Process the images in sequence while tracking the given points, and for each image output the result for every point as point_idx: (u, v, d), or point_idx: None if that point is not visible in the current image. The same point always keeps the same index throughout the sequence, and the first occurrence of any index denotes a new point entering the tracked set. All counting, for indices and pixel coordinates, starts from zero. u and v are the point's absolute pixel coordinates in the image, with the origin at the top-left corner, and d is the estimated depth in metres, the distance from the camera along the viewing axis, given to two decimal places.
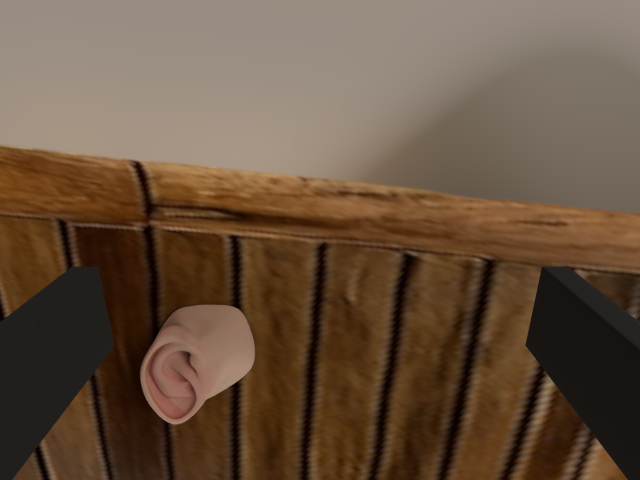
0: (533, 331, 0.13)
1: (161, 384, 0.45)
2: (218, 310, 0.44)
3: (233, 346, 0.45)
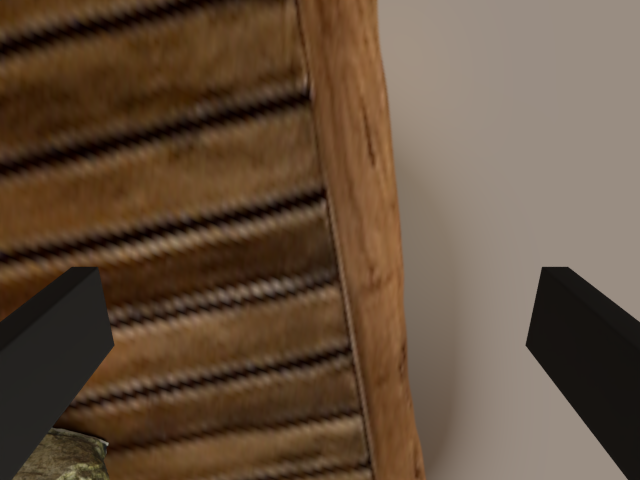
0: (533, 331, 0.13)
1: None
2: None
3: None
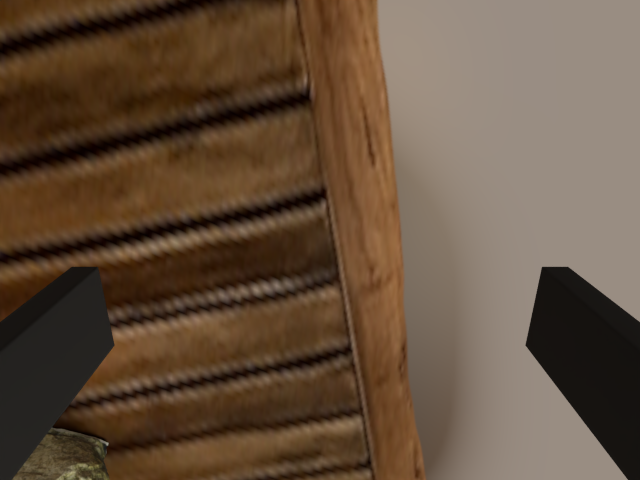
0: (533, 331, 0.13)
1: None
2: None
3: None
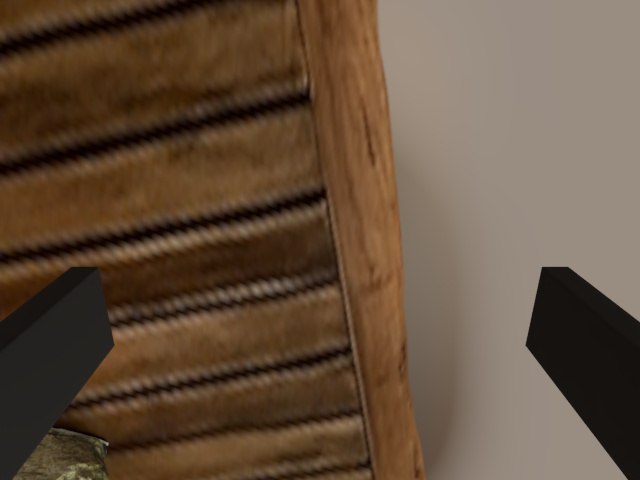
0: (533, 331, 0.13)
1: None
2: None
3: None
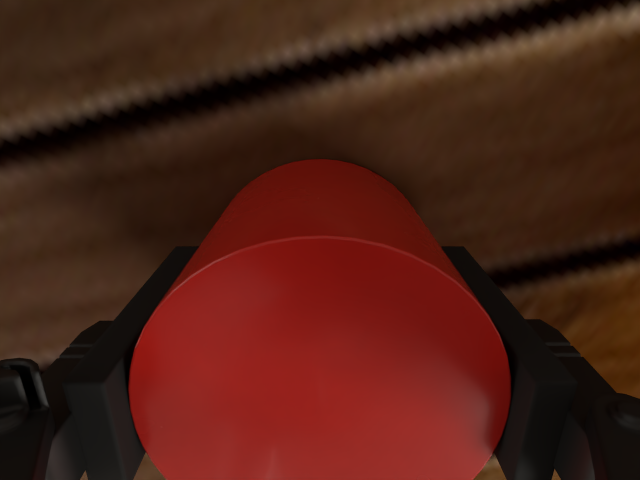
0: None
1: None
2: None
3: None
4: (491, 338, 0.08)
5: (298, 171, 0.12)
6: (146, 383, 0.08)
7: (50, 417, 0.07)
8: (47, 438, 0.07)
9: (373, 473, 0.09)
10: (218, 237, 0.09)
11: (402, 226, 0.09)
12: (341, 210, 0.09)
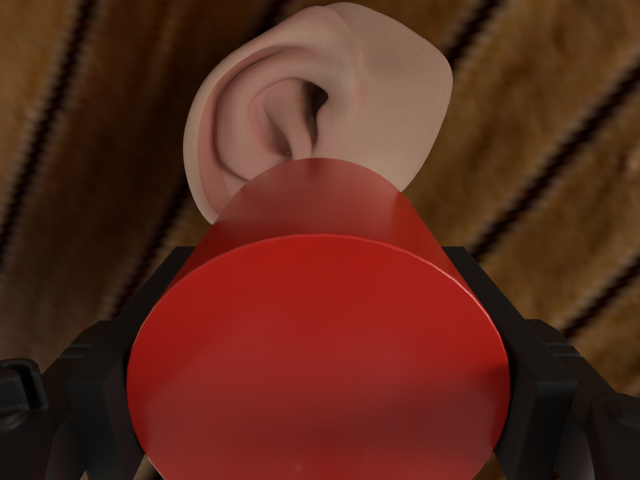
0: None
1: (229, 132, 0.20)
2: (422, 47, 0.21)
3: (405, 135, 0.22)
4: (490, 336, 0.08)
5: (297, 170, 0.12)
6: (144, 382, 0.08)
7: (50, 417, 0.07)
8: (47, 438, 0.07)
9: (372, 473, 0.09)
10: (216, 235, 0.09)
11: (401, 224, 0.09)
12: (339, 208, 0.09)
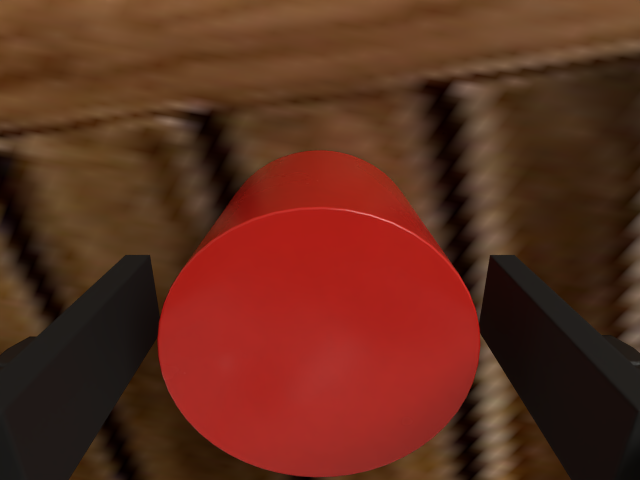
0: (484, 316, 0.13)
1: None
2: None
3: None
4: (461, 295, 0.10)
5: (300, 160, 0.14)
6: (172, 334, 0.10)
7: None
8: None
9: (364, 415, 0.11)
10: (232, 213, 0.11)
11: (389, 203, 0.11)
12: (336, 189, 0.10)
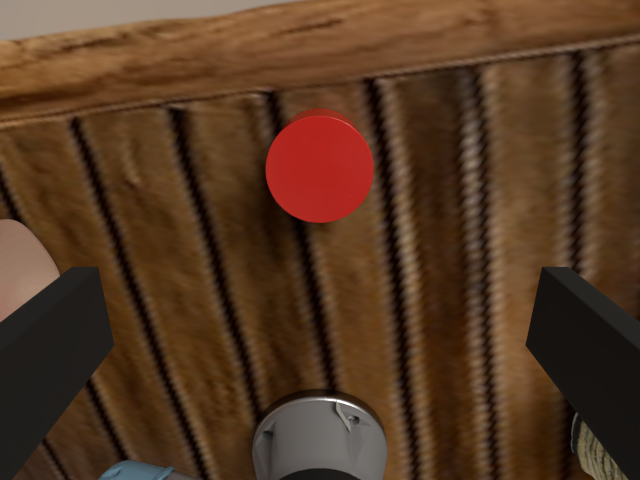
0: (533, 331, 0.13)
1: None
2: None
3: (22, 264, 0.39)
4: (365, 146, 0.30)
5: (311, 110, 0.34)
6: (271, 161, 0.30)
7: None
8: None
9: (335, 194, 0.31)
10: (290, 123, 0.31)
11: (343, 119, 0.31)
12: (325, 114, 0.31)
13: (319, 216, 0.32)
